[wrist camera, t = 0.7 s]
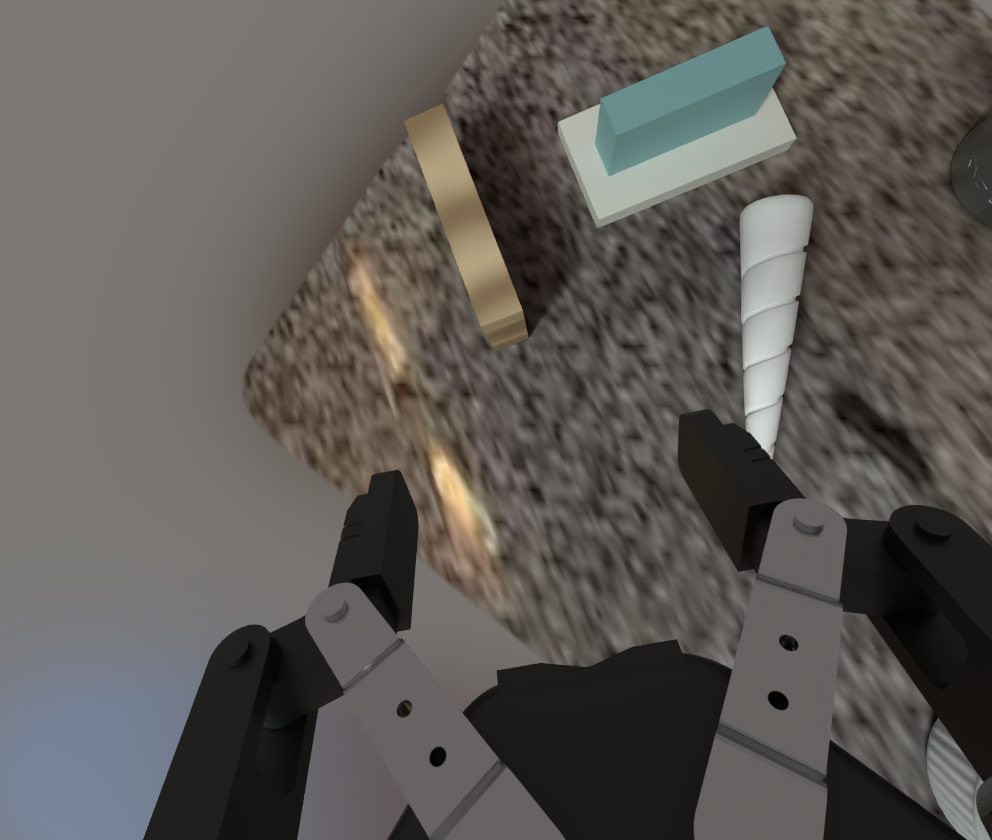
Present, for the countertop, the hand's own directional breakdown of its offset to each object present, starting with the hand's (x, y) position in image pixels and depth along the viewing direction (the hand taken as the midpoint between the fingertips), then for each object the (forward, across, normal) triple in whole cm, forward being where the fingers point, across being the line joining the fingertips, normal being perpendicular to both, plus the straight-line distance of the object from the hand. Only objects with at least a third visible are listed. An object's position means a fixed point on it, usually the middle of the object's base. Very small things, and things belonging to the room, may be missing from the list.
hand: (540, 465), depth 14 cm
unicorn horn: (+22, -19, +13) cm, 32 cm away
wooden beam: (+31, +1, +3) cm, 31 cm away
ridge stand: (+34, -16, -2) cm, 38 cm away
